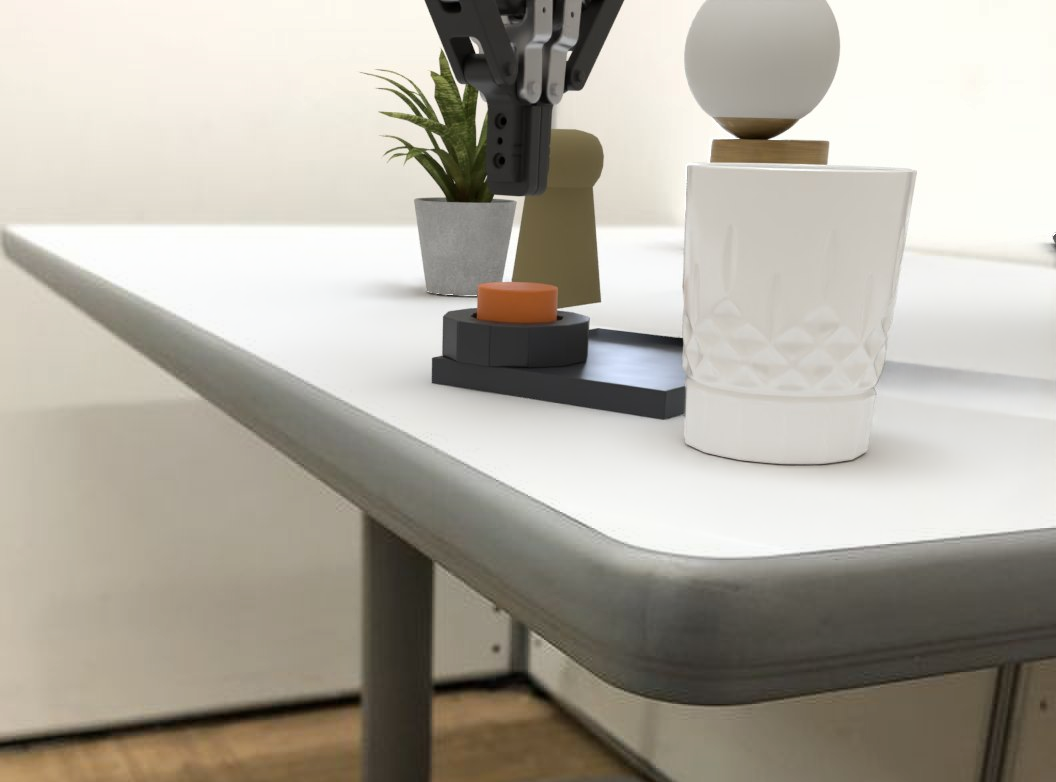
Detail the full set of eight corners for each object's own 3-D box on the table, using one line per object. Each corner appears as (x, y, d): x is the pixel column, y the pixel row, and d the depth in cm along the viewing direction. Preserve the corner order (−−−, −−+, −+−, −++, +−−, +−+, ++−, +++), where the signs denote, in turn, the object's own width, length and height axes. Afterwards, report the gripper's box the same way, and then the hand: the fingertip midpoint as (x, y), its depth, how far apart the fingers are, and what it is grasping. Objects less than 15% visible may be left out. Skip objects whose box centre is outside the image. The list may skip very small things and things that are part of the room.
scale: (584, 349, 75) (587, 291, 74) (809, 378, 67) (816, 314, 66) (414, 382, 64) (415, 315, 63) (660, 421, 57) (666, 346, 56)
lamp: (760, 262, 127) (787, -42, 119) (640, 249, 137) (658, -32, 129) (854, 254, 137) (885, -27, 129) (736, 243, 147) (757, -18, 138)
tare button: (507, 318, 66) (508, 279, 65) (571, 325, 64) (573, 286, 63) (460, 325, 63) (461, 285, 63) (526, 333, 61) (528, 292, 61)
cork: (497, 317, 86) (502, 127, 83) (516, 306, 92) (522, 128, 88) (595, 322, 85) (605, 130, 81) (608, 310, 90) (618, 130, 87)
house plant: (359, 277, 106) (359, 45, 101) (541, 280, 107) (551, 50, 102) (353, 300, 93) (353, 33, 88) (562, 303, 93) (574, 39, 88)
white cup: (624, 442, 53) (641, 162, 49) (745, 417, 58) (767, 162, 55) (807, 482, 47) (839, 170, 44) (922, 449, 53) (958, 169, 49)
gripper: (519, -314, 49) (498, 203, 55) (699, -232, 59) (666, 197, 65) (356, -284, 53) (352, 193, 59) (550, -212, 63) (531, 189, 69)
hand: (516, 194), depth 62 cm, fingers closed
